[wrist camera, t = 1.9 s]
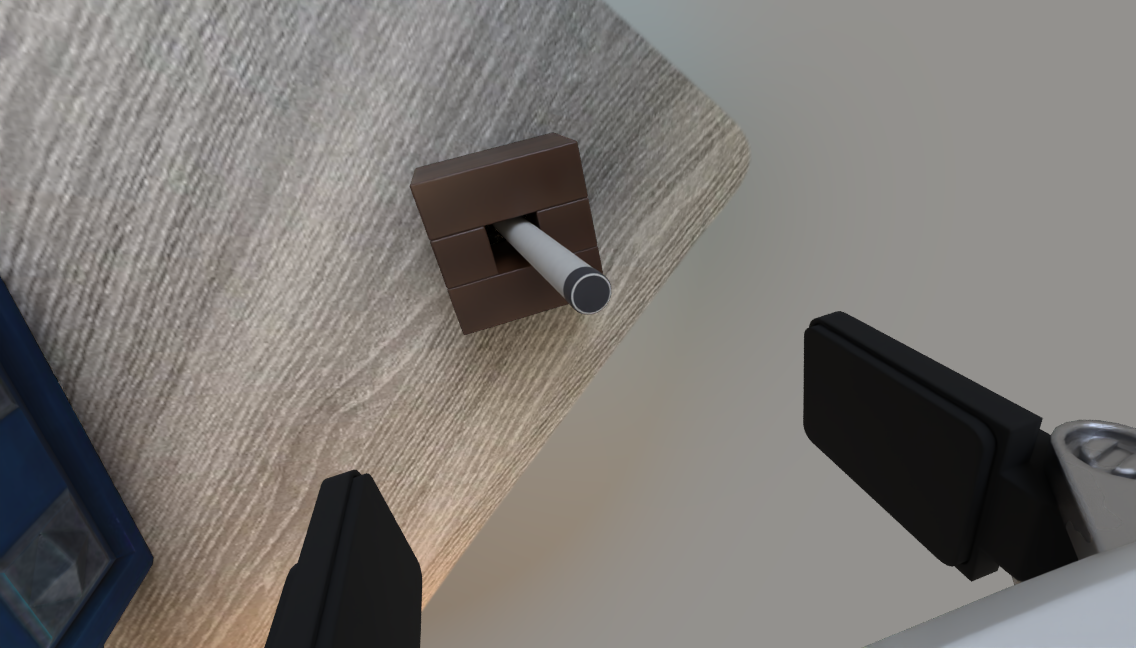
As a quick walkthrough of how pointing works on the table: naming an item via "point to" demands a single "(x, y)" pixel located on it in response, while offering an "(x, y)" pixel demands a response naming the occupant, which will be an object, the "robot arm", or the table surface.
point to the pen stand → (492, 194)
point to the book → (56, 511)
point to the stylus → (558, 265)
